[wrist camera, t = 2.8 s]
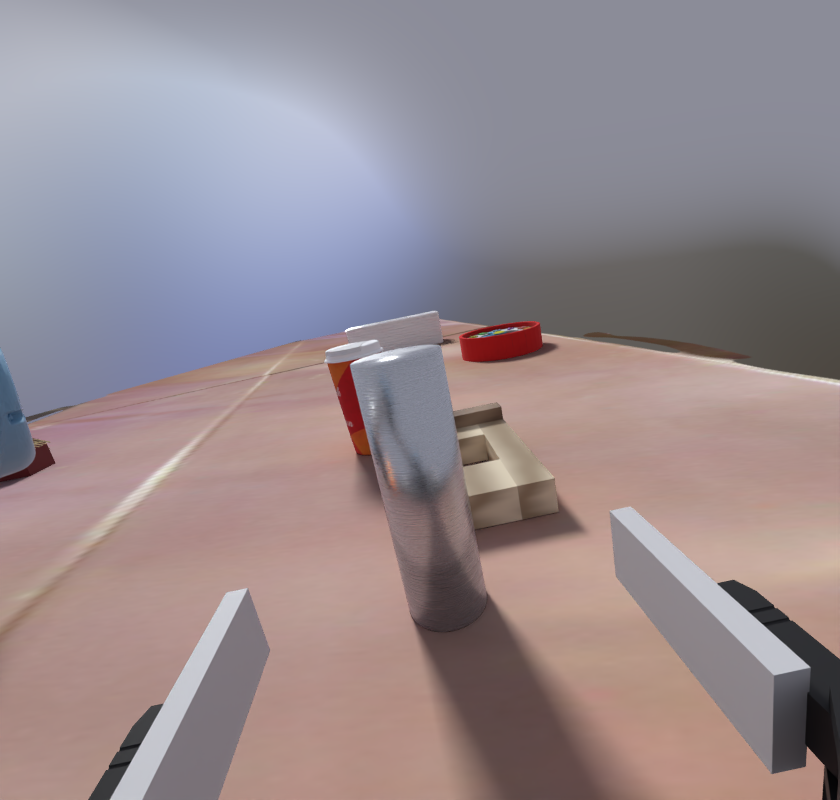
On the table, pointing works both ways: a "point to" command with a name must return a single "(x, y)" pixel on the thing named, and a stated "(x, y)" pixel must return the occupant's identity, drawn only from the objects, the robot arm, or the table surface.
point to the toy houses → (34, 461)
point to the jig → (501, 470)
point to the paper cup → (351, 387)
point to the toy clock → (501, 341)
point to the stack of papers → (400, 331)
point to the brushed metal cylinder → (422, 483)
